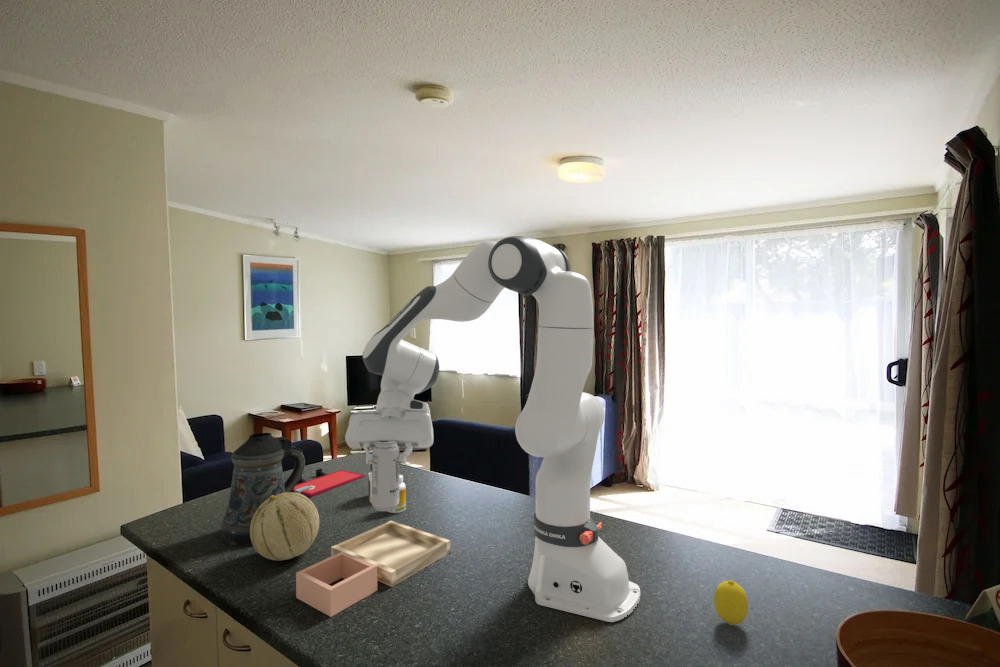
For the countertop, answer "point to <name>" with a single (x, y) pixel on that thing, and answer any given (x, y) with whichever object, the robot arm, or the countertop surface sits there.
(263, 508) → the cantaloupe
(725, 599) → the lemon
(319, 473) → the red board with handle
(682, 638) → the countertop surface
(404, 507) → the supplement bottle
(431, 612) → the countertop surface
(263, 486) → the beer stein
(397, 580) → the tray
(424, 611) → the countertop surface
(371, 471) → the white upright blocky piece
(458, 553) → the countertop surface
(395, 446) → the energy drink can
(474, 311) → the robot arm
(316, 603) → the frame
